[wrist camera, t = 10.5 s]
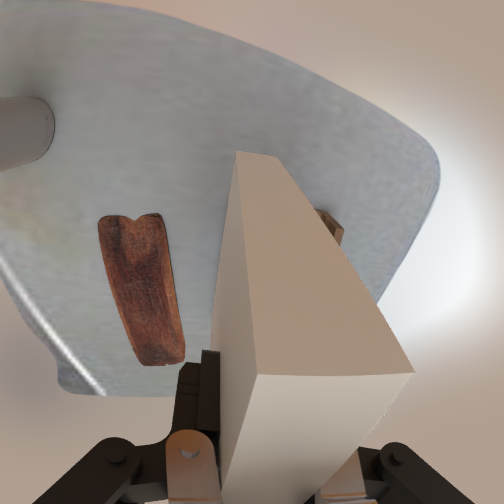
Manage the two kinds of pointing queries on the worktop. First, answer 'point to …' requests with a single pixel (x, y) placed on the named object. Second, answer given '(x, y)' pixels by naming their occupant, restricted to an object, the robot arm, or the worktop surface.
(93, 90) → the worktop surface
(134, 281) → the wooden tablet
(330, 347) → the cutting board
